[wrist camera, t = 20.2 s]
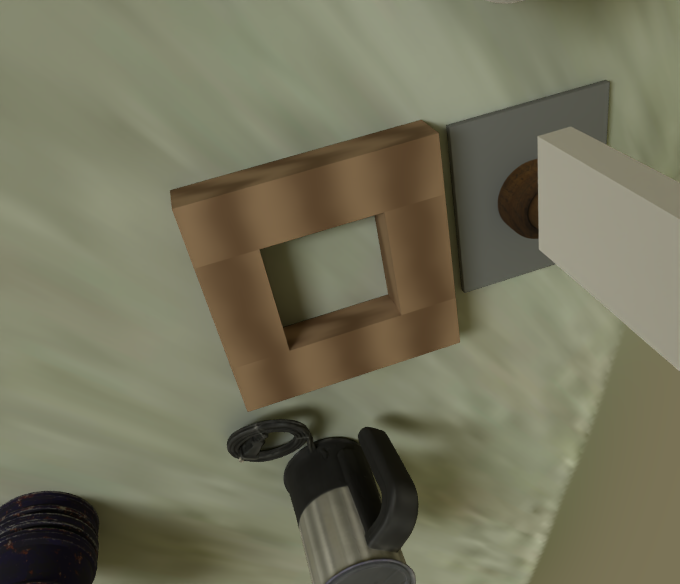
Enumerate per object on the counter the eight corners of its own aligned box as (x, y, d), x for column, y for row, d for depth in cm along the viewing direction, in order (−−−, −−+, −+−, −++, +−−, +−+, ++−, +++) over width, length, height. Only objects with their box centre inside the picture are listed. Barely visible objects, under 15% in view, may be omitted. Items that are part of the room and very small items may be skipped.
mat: (461, 289, 59) (464, 292, 59) (446, 125, 50) (449, 127, 50) (597, 246, 61) (601, 249, 60) (605, 80, 52) (609, 81, 51)
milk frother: (356, 498, 70) (402, 623, 58) (213, 507, 65) (230, 646, 53) (387, 397, 64) (446, 514, 52) (230, 398, 59) (254, 528, 46)
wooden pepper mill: (536, 142, 52) (692, 236, 38) (579, 183, 56) (739, 284, 41) (482, 205, 54) (611, 318, 39) (527, 241, 57) (662, 358, 43)
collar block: (242, 386, 58) (247, 411, 55) (170, 190, 47) (171, 209, 44) (444, 321, 61) (460, 342, 58) (421, 119, 49) (438, 133, 47)
